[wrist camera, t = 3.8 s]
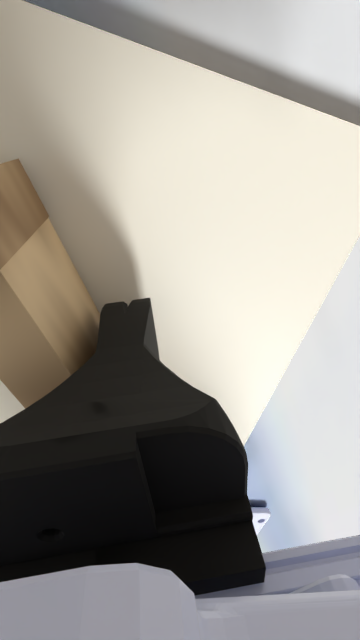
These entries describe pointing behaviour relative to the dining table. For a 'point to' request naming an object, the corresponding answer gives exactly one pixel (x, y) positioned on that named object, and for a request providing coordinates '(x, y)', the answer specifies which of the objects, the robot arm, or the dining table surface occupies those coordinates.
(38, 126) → the board
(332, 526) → the dining table surface
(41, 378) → the tan wooden bar
